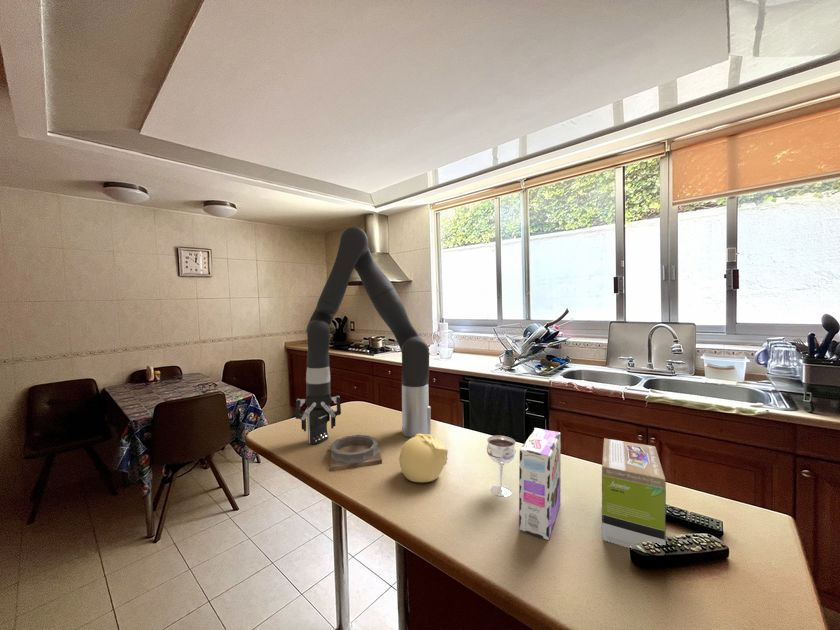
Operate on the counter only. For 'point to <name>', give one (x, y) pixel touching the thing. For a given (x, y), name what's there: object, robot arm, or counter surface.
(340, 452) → the ring collar
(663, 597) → the counter surface
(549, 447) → the candy box
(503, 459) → the wineglass
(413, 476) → the sculpture
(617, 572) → the counter surface
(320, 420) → the battery charger
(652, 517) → the tea box
